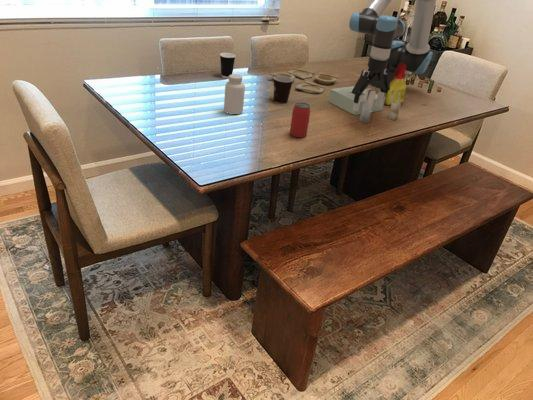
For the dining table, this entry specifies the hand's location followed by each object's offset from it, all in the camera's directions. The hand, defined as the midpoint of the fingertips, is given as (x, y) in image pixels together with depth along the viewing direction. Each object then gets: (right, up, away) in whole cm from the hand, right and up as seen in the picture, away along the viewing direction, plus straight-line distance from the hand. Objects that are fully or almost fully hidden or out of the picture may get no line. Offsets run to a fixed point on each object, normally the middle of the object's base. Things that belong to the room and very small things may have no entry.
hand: (366, 108), depth 185 cm
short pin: (+14, -2, +10) cm, 17 cm away
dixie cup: (-63, +24, +36) cm, 77 cm away
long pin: (-1, -5, +3) cm, 6 cm away
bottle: (+18, +8, +27) cm, 34 cm away
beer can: (-31, -14, -17) cm, 37 cm away
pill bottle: (-57, -2, -3) cm, 57 cm away
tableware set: (-23, +23, +44) cm, 54 cm away
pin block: (-1, +5, +19) cm, 20 cm away
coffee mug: (-36, +7, +16) cm, 40 cm away
